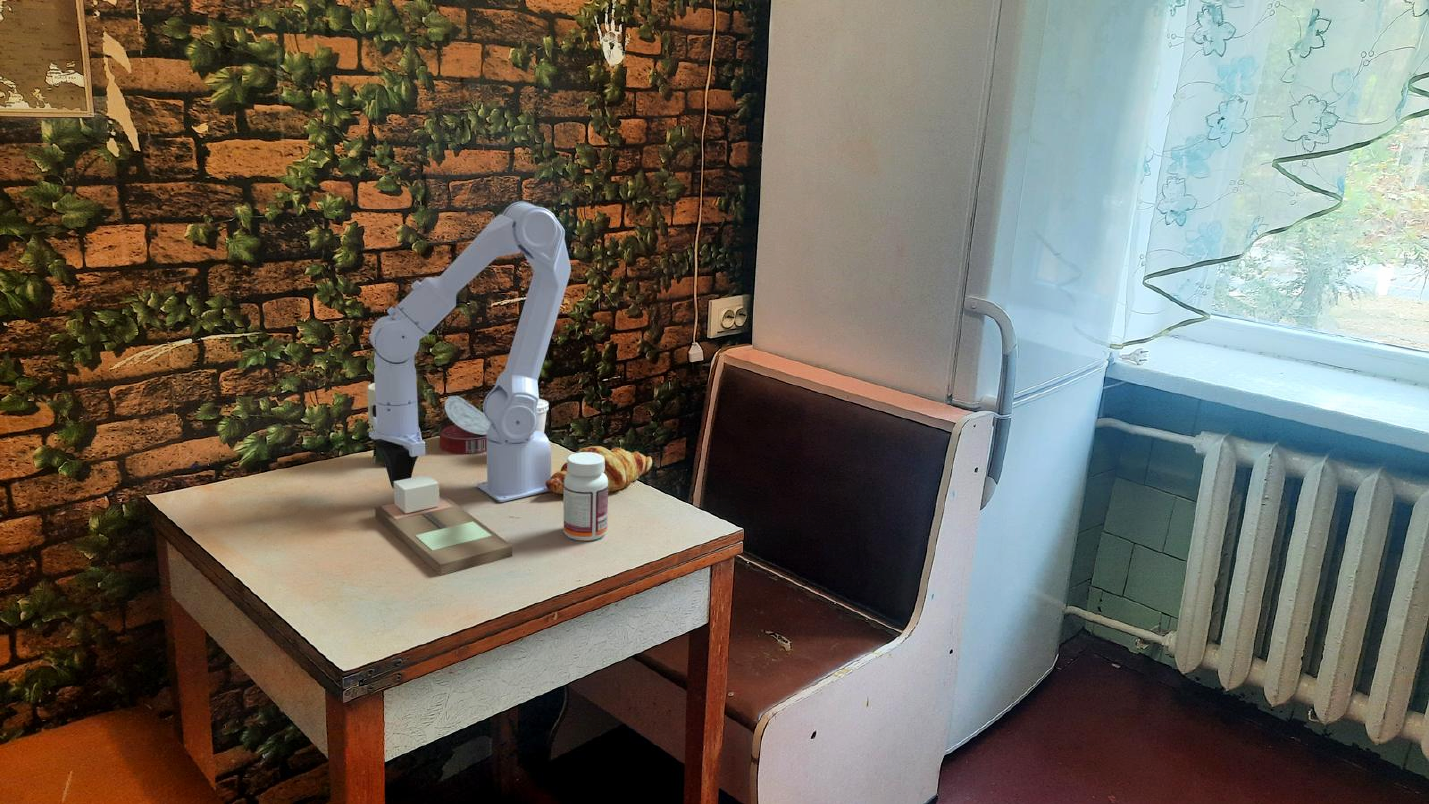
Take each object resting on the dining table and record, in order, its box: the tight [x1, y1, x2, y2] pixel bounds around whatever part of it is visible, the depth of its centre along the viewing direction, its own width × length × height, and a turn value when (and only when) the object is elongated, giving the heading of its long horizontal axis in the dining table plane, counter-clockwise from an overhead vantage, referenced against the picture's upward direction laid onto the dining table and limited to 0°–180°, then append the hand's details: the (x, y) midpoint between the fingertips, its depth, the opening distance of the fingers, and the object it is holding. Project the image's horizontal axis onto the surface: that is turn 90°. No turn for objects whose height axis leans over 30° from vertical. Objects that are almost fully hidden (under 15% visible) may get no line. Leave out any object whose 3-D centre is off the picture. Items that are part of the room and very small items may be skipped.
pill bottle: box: [563, 452, 609, 542], centre depth 132 cm, size 6×6×11 cm
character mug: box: [366, 382, 385, 465], centre depth 156 cm, size 11×7×13 cm, turn 37°
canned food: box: [438, 395, 491, 455], centre depth 166 cm, size 11×10×10 cm
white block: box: [393, 474, 440, 513], centre depth 135 cm, size 5×4×4 cm
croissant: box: [546, 445, 653, 495], centre depth 152 cm, size 21×10×8 cm, turn 137°
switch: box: [374, 493, 513, 576], centre depth 130 cm, size 10×22×2 cm, turn 40°
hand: (400, 488), depth 140 cm, fingers closed
